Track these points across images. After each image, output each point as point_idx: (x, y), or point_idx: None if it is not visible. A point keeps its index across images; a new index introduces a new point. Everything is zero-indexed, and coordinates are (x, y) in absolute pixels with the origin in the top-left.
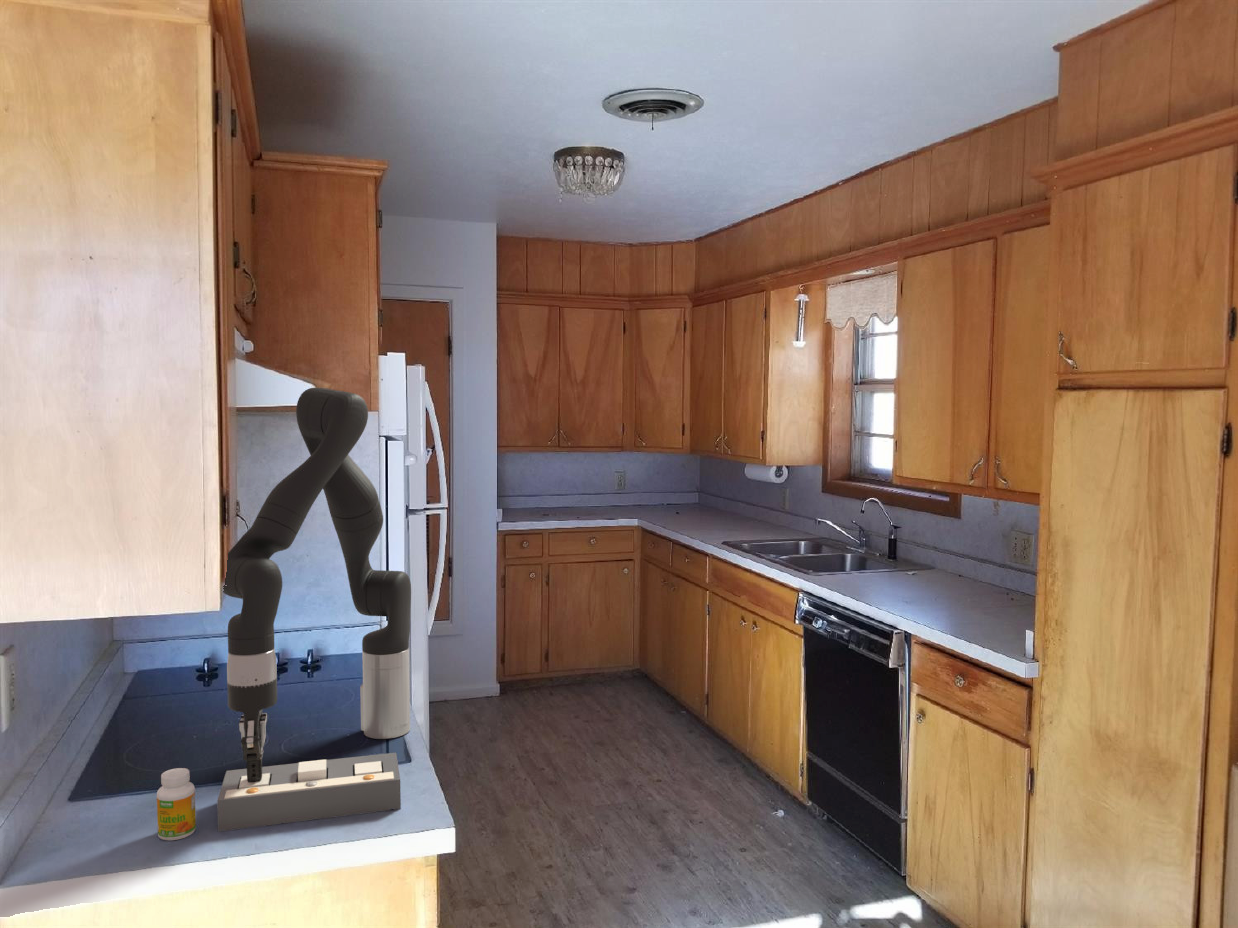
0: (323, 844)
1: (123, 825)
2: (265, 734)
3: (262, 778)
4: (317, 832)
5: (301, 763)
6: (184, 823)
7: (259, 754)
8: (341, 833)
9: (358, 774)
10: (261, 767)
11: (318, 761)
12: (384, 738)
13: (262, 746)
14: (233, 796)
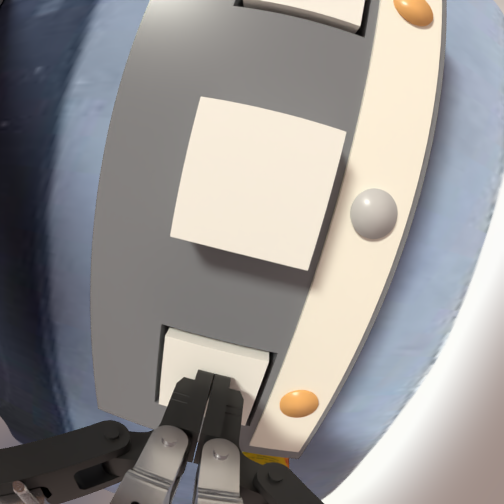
0: (490, 220)
1: (182, 477)
2: (130, 494)
3: (207, 367)
4: (441, 214)
5: (193, 228)
6: (288, 464)
7: (317, 497)
8: (471, 165)
9: (360, 16)
10: (215, 406)
11: (209, 139)
12: (1, 1)
13: (239, 496)
14: (305, 439)
